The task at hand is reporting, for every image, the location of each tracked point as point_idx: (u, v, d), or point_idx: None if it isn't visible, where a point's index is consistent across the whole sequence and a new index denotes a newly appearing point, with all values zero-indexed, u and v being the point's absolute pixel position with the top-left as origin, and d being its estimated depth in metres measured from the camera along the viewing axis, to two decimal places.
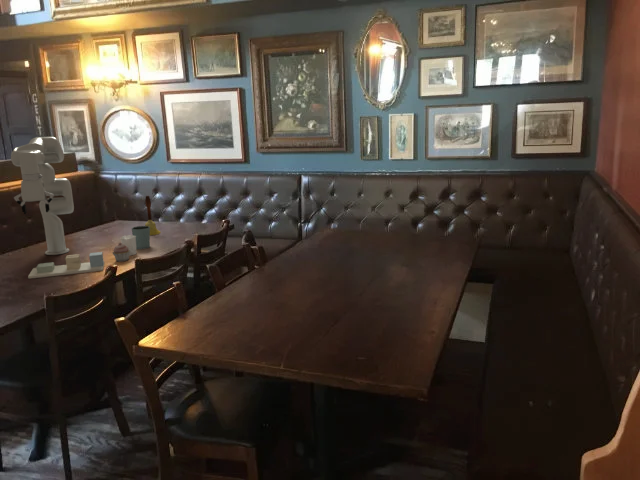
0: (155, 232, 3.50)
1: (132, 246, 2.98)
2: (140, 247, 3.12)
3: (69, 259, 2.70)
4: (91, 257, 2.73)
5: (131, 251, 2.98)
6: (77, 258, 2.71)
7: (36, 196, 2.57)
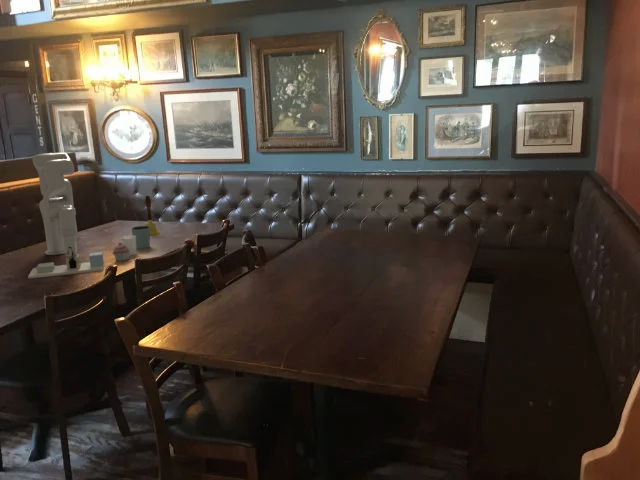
0: (155, 232, 3.50)
1: (132, 246, 2.98)
2: (140, 247, 3.12)
3: None
4: (91, 257, 2.73)
5: (131, 251, 2.98)
6: (77, 258, 2.71)
7: (76, 247, 2.74)
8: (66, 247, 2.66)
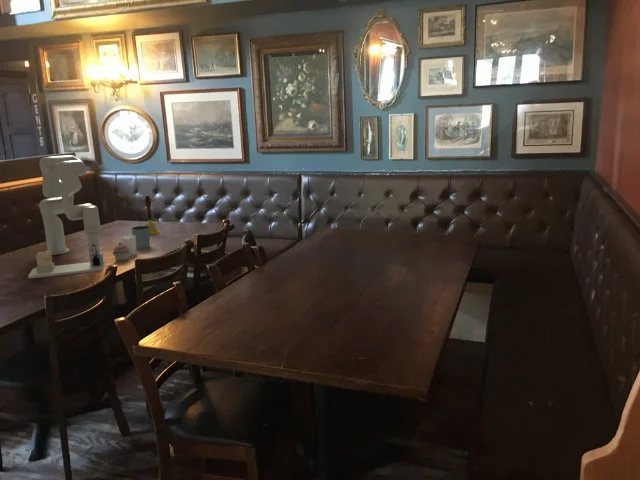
0: (155, 232, 3.50)
1: (132, 246, 2.98)
2: (140, 247, 3.12)
3: (40, 256, 2.65)
4: (91, 257, 2.73)
5: (131, 251, 2.98)
6: (48, 255, 2.66)
7: None
8: (90, 245, 2.69)
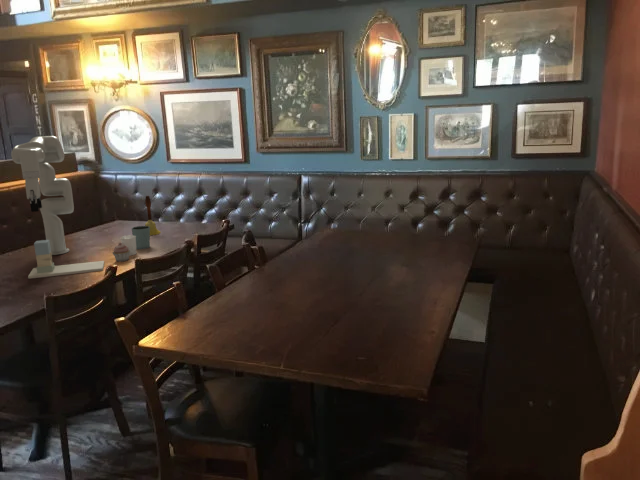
0: (155, 232, 3.50)
1: (132, 246, 2.98)
2: (140, 247, 3.12)
3: (40, 256, 2.65)
4: (36, 245, 2.63)
5: (131, 251, 2.98)
6: (48, 255, 2.66)
7: (39, 192, 2.63)
8: (28, 190, 2.55)
